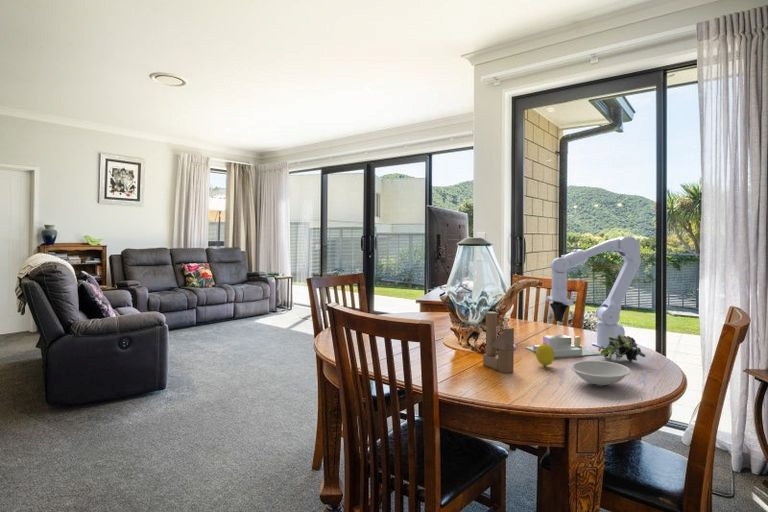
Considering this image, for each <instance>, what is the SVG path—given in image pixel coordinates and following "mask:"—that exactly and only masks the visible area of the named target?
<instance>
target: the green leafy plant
mask: <svg viewBox="0 0 768 512" xmlns="http://www.w3.org/2000/svg"><path fill="white" fill-rule="evenodd" d="M608 338H609V340H611V341H609V342H610V343H609V345H608V347H606V348H605V349H604V347H603V346H601V347H599V348H598V351H599V352H600V353H599V354H600V355H599V356H604V357H605V358H604V357H603V358H604V359H606V358H608V357H609V359H610V360H611V359H612V356H613V355H614V354H615V360H616V361H614V363H618V361H620V359H621V358H623V356H625V357H626V359H627V361H628V362H633V361H635V362H637V361H638V358H637V356H638V355H639V356H640V357H643V358H646V354H645V353H643V352H642V349H641V348H640V347H638V345H639V344H638V343H637V342H636V339H634V338H633V337H631V336H630V335H627V336H626V335H625V336H624V337H622V336H621V335H618V337H615V339H614V338H611V337H610V336H609V337H608ZM612 347H613V348H612ZM601 349H602V350H601Z"/></svg>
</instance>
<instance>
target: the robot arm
mask: <svg viewBox="0 0 768 512" xmlns="http://www.w3.org/2000/svg"><path fill="white" fill-rule="evenodd" d="M608 251H615V252H617V253H618V254H619V255H620V257H621V258H622V260H623V262H624V263H623V265H622V267H621V269H620V271H619V273H618V275H617V277H616V279H615V282H614V283H613V286H612V287H611V290H610V291H609V294H608V296H607V298H606V299H605V300H604V301H603V302H602V304H601V305H600V306H599V307H597V309H595V316H596V318H598V320H597V322H596V342H591V345H593V346H596V347H599V348H600V347H601V346H603V347H604V348H603V350H604V349H605V348H606V347H608V345H609V343H610V342H609V341H611V340H609V338H608V337H609V336H610V337H611V338H614V339H615V337H618V335H621V336H622V337H624V336H626V334H625V333H626V332H625V328H624V327H623V325H622V324H620V323H619V321H620V318H621V317H620V315H621V314H620V313H621V310H622V303H623V300H624V298H625V297H626V294H627V292H628V291H629V288H630V287H631V284H632V283H633V281H634V278H635V276H636V274H637V272H638V270H639V268H640V266H641V264H642V257H641V244H640V243H639V242H638V240H637V239H636V238H635V237H634V236H629V235H627V236H618V237H616V238H611V239H608V240H605V241H603V242H601V243H600V242H599V243H598V244H596V245H594V246H592V247H590V248H586V249H585V250H582V249H580V248H579V249H576V248H574V249H572V251H571V252H568V253H567V254H562V255H560V256H561V257H555V258H554V259H553V260H552V261H551V263H550V268H551V271H552V272H551V273H552V275H551V295H545V301H546V302H551V303H550V304H549V306H550V307H551V309H552V311H553V315H554V318H555V321H556V322H562V321H563V319H564V315H565V314H566V313H565V312H566V310H567V309H568V308H569V307H571V306H574V300H572V299H569V298H568V276H567V274H568V273H567V272H568V270H569V269H572V268H574V267H577V266H580V265H583V264H585V263H586V262H587V260H588V259H589V258H591V257H594V256H596V255H600V254H602V253H604V252H608ZM612 348H613V347H612Z"/></svg>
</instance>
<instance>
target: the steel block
mask: <svg viewBox="0 0 768 512" xmlns="http://www.w3.org/2000/svg"><path fill="white" fill-rule="evenodd" d="M544 343H547V344H548V345H550V346H551V347H552V349H564V348H571V344H572V336H569V335H567V334H566V335H565V334H557V335H556V334H555V335H543V336H542V344H544Z"/></svg>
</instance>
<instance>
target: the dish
mask: <svg viewBox="0 0 768 512" xmlns="http://www.w3.org/2000/svg"><path fill="white" fill-rule="evenodd" d="M570 369H571V370H572V371H573V372H574V373H575V374H576V375H577V376H578V377H579V378H580V379H581V380H583V381H585V382H588V383H590V384H595V385H596V386H599V387H603V386H607V385H608V386H609V385H614V384H616V383H619V382H620V381H622V380H623V379H624V378H625V377H626V376H628V375H630V374H631V368H629V367H628V366H626V365H623V364H621V363H618V362H617V363H615V362H614V361H613V362H611V361H607V360H581V361H575V362H573V363H571V364H570Z"/></svg>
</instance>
